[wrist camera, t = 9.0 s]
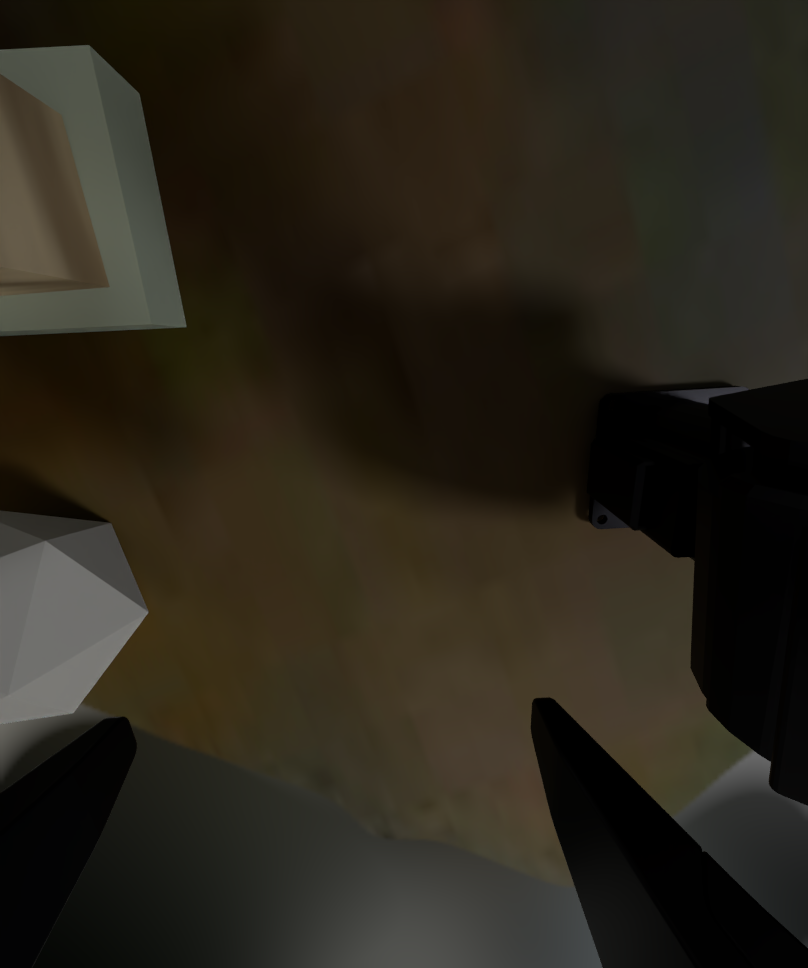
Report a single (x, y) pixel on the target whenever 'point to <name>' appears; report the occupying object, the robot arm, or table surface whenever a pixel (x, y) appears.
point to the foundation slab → (100, 199)
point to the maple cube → (41, 203)
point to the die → (60, 611)
